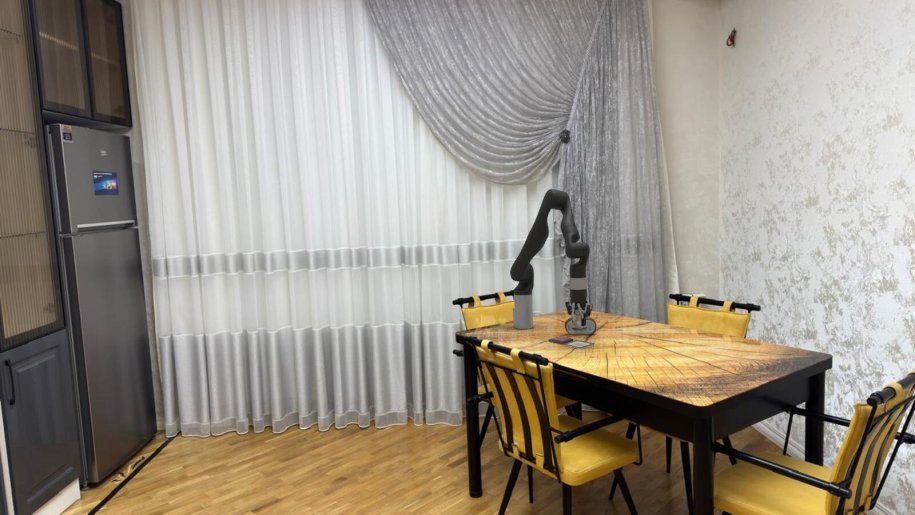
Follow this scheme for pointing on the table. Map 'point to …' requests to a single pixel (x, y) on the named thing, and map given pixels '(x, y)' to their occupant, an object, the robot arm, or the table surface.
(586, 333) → the tin
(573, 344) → the marked box
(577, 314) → the stamp
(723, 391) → the table surface
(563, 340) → the ink pad
